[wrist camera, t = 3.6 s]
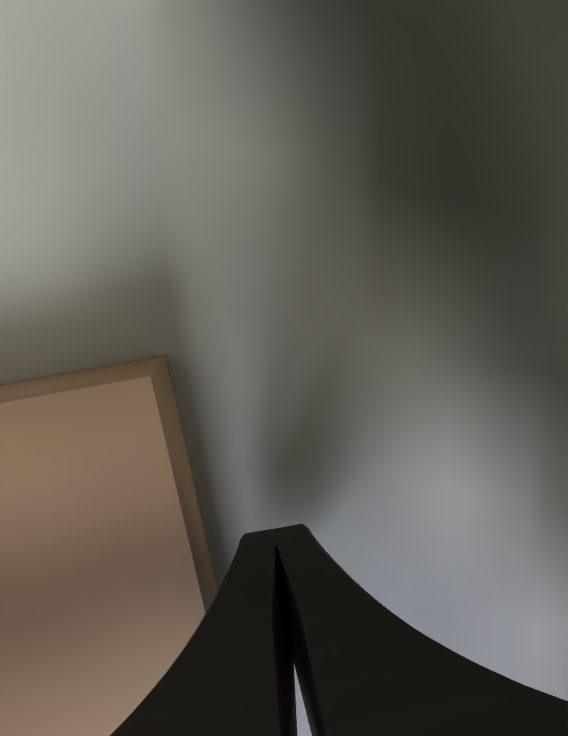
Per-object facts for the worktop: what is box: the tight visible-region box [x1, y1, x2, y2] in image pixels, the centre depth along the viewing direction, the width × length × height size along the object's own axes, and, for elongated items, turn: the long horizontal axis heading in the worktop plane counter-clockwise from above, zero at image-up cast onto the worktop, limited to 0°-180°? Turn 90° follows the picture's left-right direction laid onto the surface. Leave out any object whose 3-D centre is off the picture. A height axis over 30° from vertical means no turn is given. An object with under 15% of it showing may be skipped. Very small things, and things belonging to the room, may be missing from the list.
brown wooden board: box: [0, 355, 218, 736], centre depth 11 cm, size 9×6×2 cm, turn 9°
